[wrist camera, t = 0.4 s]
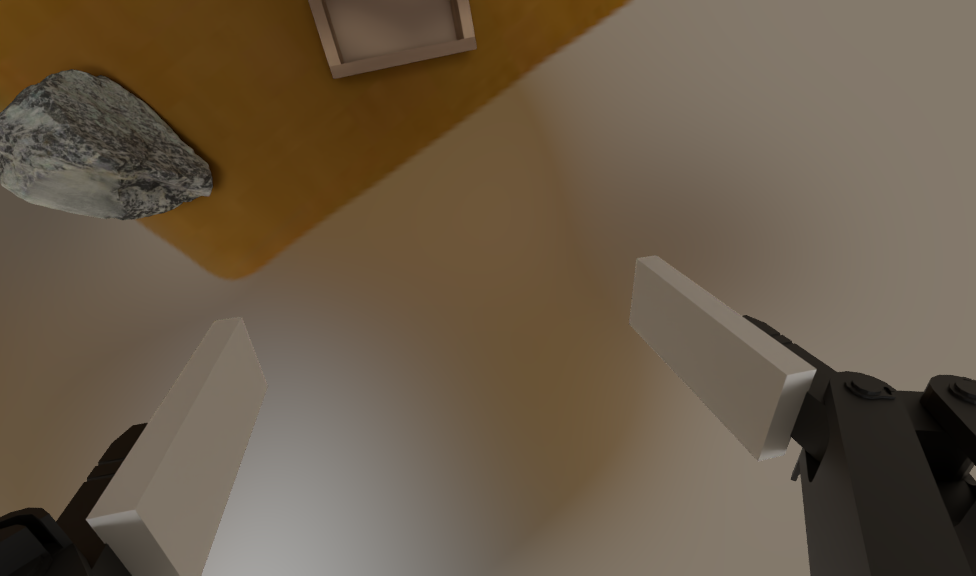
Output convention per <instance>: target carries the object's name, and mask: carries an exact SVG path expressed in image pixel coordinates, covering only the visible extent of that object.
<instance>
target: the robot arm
mask: <svg viewBox="0 0 976 576" xmlns="http://www.w3.org/2000/svg"><path fill="white" fill-rule="evenodd" d="M629 324H630V325H631V326H632V327H633V329H634V330H635V331H636V332H637V333H638V334H639V335H640V336H641V337H642V338H643V339H644V340H645V341H646V342H647V343H648V345H650V347H651V348H652V349H653V350H654V351H655V352H656V353H657V354H658V355H659V356H660V357H661V358H662V359H663V361H664V362H665V363H667V365H668V366H669V367H670V368H671V369H672V370H673V371H674V372H675V373H676V374H677V375H678V377H679V378H680V379H681V380H682V381H683V382H684V383H685V384H686V385H687V386H688V387H689V388H690V389H691V390H692V391H693V392H694V393H695V394H696V396H697V397H698V398H699V399H700V400H701V401H702V402H703V403H704V404H705V405H706V406H707V407H708V408H709V410H710V411H711V412H712V413H713V414H714V415H715V416H716V417H717V418H718V419H719V420H720V421H721V422H722V423H723V424H724V426H725V427H726V428H727V429H728V430H729V431H730V432H731V433H732V434H733V435H734V436H735V437H736V438H737V439H738V440H739V442H740V443H741V444H742V445H743V446H744V447H745V448H746V449H747V450H748V451H749V452H750V453H751V454H752V455H753V456H754V458H755V459H756V460H757V461H761V460H766V459H770V458H774V457H778V456H782V455H785V452H786V449H787V447H788V444H789V441H790V439H791V437H792V438H793V439H794V440H795V441H796V442H797V443H798V444H799V445H801V446H802V447H803V448H802V450H801V453H800V455H799V458H798V461H797V463H796V465H795V468H794V470H793V473H792V477H791V480H793V481H796V480H797V478H798V475H799V474H801V483H802V493H803V503H804V513H805V524H806V533H807V544H808V554H809V563H810V574H811V576H976V481H975V480H974V478H973V477H972V476H971V475H970V474H969V472H970V471H971V469H972V468H973V466H974V465H975V466H976V380H971V379H969V378H966V377H959V376H953V375H937V376H935V377H932V378H931V379H930V381H929V383H928V385H927V387H926V389H925V391H924V392H915V391H896V390H895V389H894V388H892V387H891V386H890V385H888V384H887V383H885V382H883V381H881V380H879V379H877V378H875V377H872V376H869V375H865V374H862V373H857V372H849V371H845V372H836V371H834V370H833V369H832V368H830V367H829V366H827V365H826V364H824V363H823V362H821V361H820V360H818V359H817V358H816V357H814V356H813V355H811V354H810V353H808V352H807V351H805V350H804V349H802V348H801V347H799V346H798V345H797V344H793V343H792V341H790V340H789V339H788V338H786V337H785V336H783V335H780V333H779V332H777V331H776V330H775V329H773V328H772V327H770V326H769V325H767V324H766V323H764V322H761V321H759V320H757V319H754V318H752V317H749V316H747V315H744V316H741V315H740V314H738V313H737V312H735V311H734V310H733V309H731V308H730V307H728V306H727V305H726V304H724V303H723V302H721V301H720V300H718V299H717V298H716V297H714V296H712V295H711V294H710V293H708V292H707V291H706V290H704V289H703V288H701V287H700V286H699V285H697V284H696V283H695V282H693V281H692V280H690V279H689V278H687V277H686V276H685V275H683V274H682V273H680V272H679V271H678V270H676V269H675V268H673V267H672V266H671V265H669V264H667V263H666V262H665V261H664V260H662V259H661V258H659V257H658V256H649V257H642V258H637V259H636V268H635V278H634V285H633V294H632V304H631V312H630V320H629ZM267 388H268V385H267V382H266V380H265V377H264V375H263V372H262V369H261V367H260V364H259V361H258V359H257V356H256V354H255V351H254V348H253V345H252V343H251V340H250V338H249V335H248V332H247V329H246V327H245V324H244V322H243V319H242V317H235V318H228V319H222V320H215V321H214V322H213V324H212V326H211V327H210V329H209V330H208V332H207V333H206V335H205V336H204V338H203V339H202V341H201V343H200V344H199V346H198V347H197V349H196V350H195V352H194V353H193V355H192V356H191V358H190V359H189V361H188V363H187V364H186V366H185V367H184V369H183V370H182V372H181V373H180V375H179V376H178V378H177V380H176V381H175V383H174V384H173V386H172V387H171V389H170V390H169V392H168V393H167V395H166V397H165V398H164V400H163V401H162V403H161V404H160V406H159V407H158V409H157V410H156V412H155V414H154V415H153V417H152V418H151V420H150V421H149V423H144V424H138V425H133V426H132V427H130V428H129V429H128V430H127V431H126V432H124V433H123V434H122V435H121V436H120V437H119V438H117V439H116V440H115V441H114V442H113V443H112V444H111V445H110V447H109V448H108V449H107V451H106V452H105V453H104V455H103V456H102V458H101V459H100V460H99V462H98V466H95V468H94V469H93V470H92V472H91V473H90V475H89V476H88V477H87V482H84V483H83V485H82V486H81V487H80V489H79V490H78V492H77V493H76V494H75V496H74V497H73V499H72V500H71V501H70V503H69V504H68V506H67V507H66V508H65V510H64V511H63V513H62V514H61V515H60V517H59V518H58V520H57V521H56V522H55V520H54V519H53V518H52V517H51V516H50V514H49V513H47V512H46V511H45V510H44V509H42V508H25V509H22V510H18V511H14V512H10V513H8V514H6V515H4V516H2V517H0V576H201V574H202V572H203V569H204V566H205V563H206V560H207V557H208V555H209V552H210V549H211V546H212V543H213V540H214V537H215V535H216V532H217V529H218V526H219V523H220V521H221V518H222V515H223V512H224V509H225V506H226V504H227V501H228V498H229V495H230V492H231V489H232V486H233V484H234V481H235V478H236V475H237V472H238V469H239V467H240V464H241V461H242V458H243V455H244V453H245V450H246V447H247V444H248V441H249V438H250V435H251V433H252V430H253V427H254V424H255V421H256V419H257V415H258V413H259V410H260V407H261V405H262V401H263V399H264V396H265V393H266V390H267Z"/></svg>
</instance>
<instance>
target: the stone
mask: <svg viewBox="0 0 976 576" xmlns="http://www.w3.org/2000/svg"><path fill="white" fill-rule="evenodd" d="M0 181H1V182H0V183H1V185H2V186H3V187H5V188H6V189H8V190H9V191H11V192H13V193H14V194H15V195H16V196H17V197H19V198H22V199H24V200H25V201H27V202H29V203H32V204H36V205H41V206H45V207H49V208H52V209H59V210H62V211H66V212H69V213H74V214H80V215H86V216H91V217H97V218H104V219H107V218H116V219H120V220H128V219H137V218H143V217H149V216H152V215H154V214H160V213H165V212H167V211H170V210H172V209H174V208H176V207H178V206H179V205H180V204H182V203H183V202H189V201H192V200H194V199H195V198H198V197H200V196H210V194H211V190H212V188H213V184H212V176H211V171H210V170H209V165H208V163H207V162H205V161H204V160H203V159H202V158H201V157H199V156H198V155H196V154H195V153H194V150H193V149H192V148H191V147H189V146H188V145H186V144H185V143H184V142H182V141H181V140H180V138H179V137H178V135H177V134H175V133H174V132H173V130H172V129H171V128H170V127H169V126H168V125H167V124H166V123H165V122H164V121H163V120H162V119H161V118H160V117H159V116H158V115H157V114H156V113H155V112H154V111H153V110H152V109H151V108H150V107H149V106H148V105H147V104H146V103H144V102H143V101H142V100H140V99H138V98H137V97H135V96H134V95H133V94H131V93H129V92H128V91H127V90H125V89H124V88H122V87H121V86H120V85H119V84H117V83H115V82H113V81H112V80H110V79H109V78H108V77H105V76H102V75H100V76H97V77H96V76H93V75H90V74H89V73H86V72H82V71H79V70H72V69H71V70H67V71H61V72H59V73H56V74H51V75H49V76H47V77H46V78H45V79H44V80H43V81H41V82H40V83H38V84H36V85H31V86H29V87H27V88H25V89H24V90H23V91H22V92H21V93H19V94H18V95H17V96H16V98H15V99H14V100H13V101H12V102H11V103H10V104H9V105H8V106H7V107H6V108H5V109H4V110H3V111H2V112H1V113H0Z"/></svg>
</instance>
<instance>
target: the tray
mask: <svg viewBox="0 0 976 576" xmlns="http://www.w3.org/2000/svg"><path fill="white" fill-rule="evenodd" d="M308 1H309V5H310V8H311V11H312V14H313V17H314V20H315V23H316V26H317V29H318V33H319V36H320V39H321V42H322V45H323V48H324V51H325V54H326V57H327V61H328V64H329V67H330V70H331V73H332V76H333V79H336V78H341V77H346V76H351V75H355V74H360V73H365V72H370V71H374V70H379V69H384V68H389V67H393V66H398V65H403V64H408V63H412V62H417V61H422V60H427V59H431V58H436V57H441V56H446V55H450V54H455V53H460V52H465V51H469V50H474V49H477V46H476V40H475V34H474V28H473V22H472V17H471V11H470V5H469V0H308Z"/></svg>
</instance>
